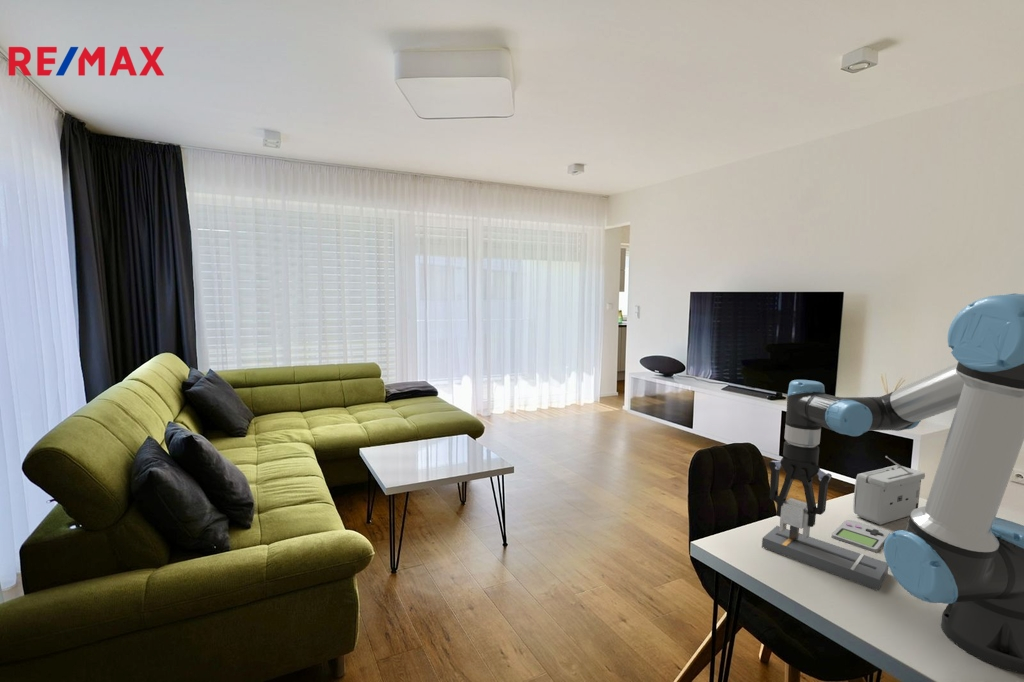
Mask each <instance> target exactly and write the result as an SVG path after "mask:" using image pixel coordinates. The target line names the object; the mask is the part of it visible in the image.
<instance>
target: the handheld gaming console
mask: <svg viewBox="0 0 1024 682" xmlns="http://www.w3.org/2000/svg"><path fill="white" fill-rule="evenodd" d="M890 534H891V532H890V531H889V530H887V529H882V528H880V527H878V526H877V527H876V526H874V525H870V524H866V523H863V522H859V521H857V520H852V519H846V520H844V521H843V522H842V523H841V524H840V525H839V526H838V527H836V528H835V530H834V531H833V532H832V533H831V538H832V539H833V540H837V541H839V542H842V543H846V544H849V545H852V546H855V547H858V548H860V549H864V550H866V551H870V552H873V553H878V552H879V550H880V548H882V546H884V543H885V540H886V538H887V537H888V535H890Z"/></svg>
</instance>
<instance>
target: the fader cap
mask: <svg viewBox="0 0 1024 682" xmlns="http://www.w3.org/2000/svg"><path fill="white" fill-rule="evenodd" d="M807 511H808V508H807V503H806V502H805V501H803V500H799V499H796V498H792V497H789V498H788V499H786V501H785V502H784V503H783V513H782V523H785V524H787V525H788V526H789V530H790V534H789V539H792V540H795V541H797V540H798V537H799V533H800V529H801V530H803V525H804V513H805V512H807Z"/></svg>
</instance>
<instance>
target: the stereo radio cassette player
mask: <svg viewBox="0 0 1024 682" xmlns="http://www.w3.org/2000/svg"><path fill="white" fill-rule="evenodd" d="M885 458H886V459H888V460H889V461H890V462H892V463H893V464H895V465H891V466H887V467H883V468H878V469H875V470H874V469H873V470H870V471H865V472H861V473H857V475H856V477H855V484H854V491H853V492H854V493H853V508H852V509H853V510H852V511H853V513H854V514H855V515H857V517H859V518H860V519H864V520H866V521H870V522H871V523H875V524H877V525H879V526H881V525H884V524H887V523H891V522H894V521H897V520H900V519H904V518H906V517H910V515H911V512H912V511H913V510H914V509H916V508H919V504H920V503H919V502H920V495H921V483H922V480H924V479H925V477H926V475H925V472H923V471H921V470H916V469H913V468H911V467H910V468H909V467H906V466H903V465H901V464H899V463H897V462H896V461H894V460H893V459H891V458H889V457H888V455H885Z"/></svg>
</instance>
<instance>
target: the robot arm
mask: <svg viewBox="0 0 1024 682" xmlns="http://www.w3.org/2000/svg"><path fill="white" fill-rule="evenodd" d="M947 344H948V347H949V348H951V352H950V353H951V355H952V356H953V358H954V359H955V360H956V361H957V363H955V364H953V365H950V366H947V367H946V368H944V369H941V370H939V371H937V372H935V373H932V374H930V375H927V376H925V377H923V378H921V379H919V380H916V381H914V382H911V383H910V384H907V385H905V386H902V387H899V388H898V389H895V390H894V391H891V392H889V393H887V394H885V395H881V396H865V397H864V396H861V397H859V396H855V397H854V396H853V397H851V396H849V397H848V396H847V397H845V396H844V397H843V396H842V397H841V396H835V395H831V394H827V393H826V391H825V384H823V383H822V382H820V381H816V380H808V379H794V380H791V381H790V382H789V384H788V390H787V395H786V397H787V398H786V399H787V400H786V412H785V413H786V414H785V425H784V426H785V428H784V436H783V437H784V440H785V441H784V442H783V451H782V458H781V460H775V459H774V460H771V461H770V462H768V465H769V469H770V481H769V485H770V486H769V499H770V500H771V501H773V502H775V503H776V516H777V517H779V518H780V519H779V527H780V528H779V531H781V532H783V531H784V530H785V529H787V525H788V524H785V523H782V513H783V503H784V502H785V501H787V497H788V494H789V492H790V490H791V488H792V484H793V481H794V480H797V481H799V482H801V484H802V486H803V491H804V496H805V501H806V503H807V508H808V511H807V512H805V513H804V525H803V528H802V534H803V536H802V539H805V540H806V539H807V538H808V537H810V531H811V528H813V527H814V526H815V524H816V517H817V515H821V516H822V514H824V513H825V512H826V506H827V499H828V498H827V497H828V490H829V489H828V488H829V487H828V486H829V482H830V481H831V480H832V474H831V473H826V472H824V471H823V470H821V468H820V465H819V458H820V457H819V455H820V447H819V445H820V442H821V432H822V427H823V428H825V429H827V430H831V431H834V432H835V433H838V434H840V435H847V436H850V437H859V436H861V435H863V434H865V433H867V432H868V431H896V432H900V431H905V430H911V429H915V428H916V427H918V425H919V424H920V423H921V421H923V420H925V419H929V418H931V417H934V416H937V415H940V414H942V413H943V414H944V413H946V412H948V411H951V410H955V411H954V414H953V418H952V421H951V423H950V427H949V431H948V434H947V437H946V439H945V443H944V446H943V449H942V453H941V455H940V459H939V462H938V465H937V468H936V471H935V475H934V478H933V481H932V484H931V487H930V490H929V493H928V497H927V500H926V502H925V505H924V506H921V507H918V508H916V509H914V510H913V511H912V512H911V515H910V516H909V519H908V521H907V523H906V527H905V529H904V530H903V529H899V530H896V531H894V532H890V535H888V537H887V538H886V540H885V542H884V543H883V553H884V558H885V562H886V563H887V565H888V566H889V567H888V569H890V572H891V575H892V576H893V578H894V579H895V580H896V581H897V583H898V584H899V585H900V586H901V588H903V589H904V590H905V591H906V592H907V593H909V594H910V595H911V596H913V597H914V598H916V599H917V600H920V601H923V602H926V603H930V604H931V603H933V604H946V607H945V609H944V610H943V612H942V613H941V619H940V620H941V621H940V628H941V630H942V632H943V634H944V635H945V636H946V637H947V638H948V639H949V640H950V641H951V642H952V643H954V644H955V645H956V646H958V647H959V648H961V649H963V650H964V651H965V652H966V653H968V654H970V655H971V656H972V655H973V656H975V657H976V658H977V659H980V660H982V661H984V662H986V663H988V664H990V665H994V666H995V667H999V668H1002V669H1004V670H1008V671H1010V672H1013V673H1018V674H1022V675H1024V525H1023V524H1021V523H1017V522H1014V521H1011V520H1008V519H1005V518H1002V517H1001V518H1000V517H997V514H998V511H999V509H1000V506H1001V503H1002V500H1003V498H1004V495H1005V492H1006V490H1007V487H1008V485H1009V482H1010V479H1011V477H1012V473H1013V472H1014V468H1015V465H1016V462H1017V460H1018V457H1019V454H1020V452H1021V449H1022V446H1023V444H1024V293H1006V294H997V295H989V296H986V297H985V296H984V297H983V298H979V299H977V300H974V301H973V302H972V303H970V304H968V305H965V306H964V307H963V308H962V309H961V310H960V311H959V312H958V313H957V314H956V316H954V318H953V319H952V321H951V323H950V326H949V328H948V332H947ZM781 468H782V469H783V470H784V472H785V473H786V474H785V477H784V480H783V484H782V485H781V486H782V487H781V489H780V492H779V487H780V486H779V485H780V484H779V483H780V469H781ZM816 475H817V476H818V480H819V481H820V482H819V485H818V493H817V494H818V495H817V502H816V497H815V491H814V487H813V478H814V477H815V476H816ZM816 503H817V504H816Z"/></svg>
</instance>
